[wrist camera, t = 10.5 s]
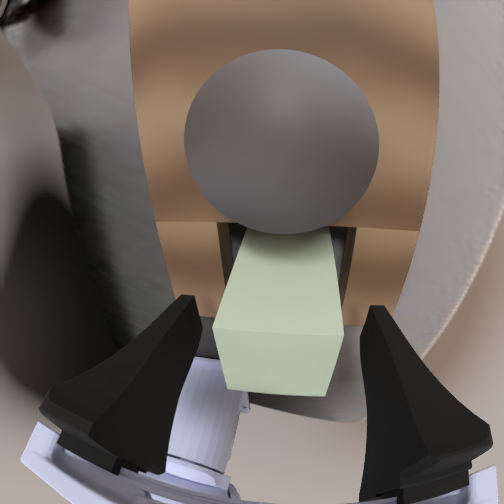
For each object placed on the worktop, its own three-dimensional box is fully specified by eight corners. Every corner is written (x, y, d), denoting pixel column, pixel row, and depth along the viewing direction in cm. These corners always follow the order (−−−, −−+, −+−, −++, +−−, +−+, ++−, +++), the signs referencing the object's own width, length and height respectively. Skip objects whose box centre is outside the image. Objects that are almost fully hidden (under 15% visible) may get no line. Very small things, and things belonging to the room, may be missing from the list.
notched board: (382, 301, 16) (388, 325, 14) (190, 291, 17) (180, 313, 16) (404, -48, 5) (417, -63, 3) (151, -41, 6) (131, -53, 5)
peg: (328, 224, 14) (344, 335, 8) (321, 286, 16) (324, 396, 10) (249, 222, 14) (212, 327, 8) (253, 283, 16) (227, 389, 11)
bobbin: (349, 193, 10) (367, 238, 7) (224, 189, 11) (196, 231, 8) (353, 66, 8) (381, 56, 5) (214, 67, 8) (175, 59, 6)
